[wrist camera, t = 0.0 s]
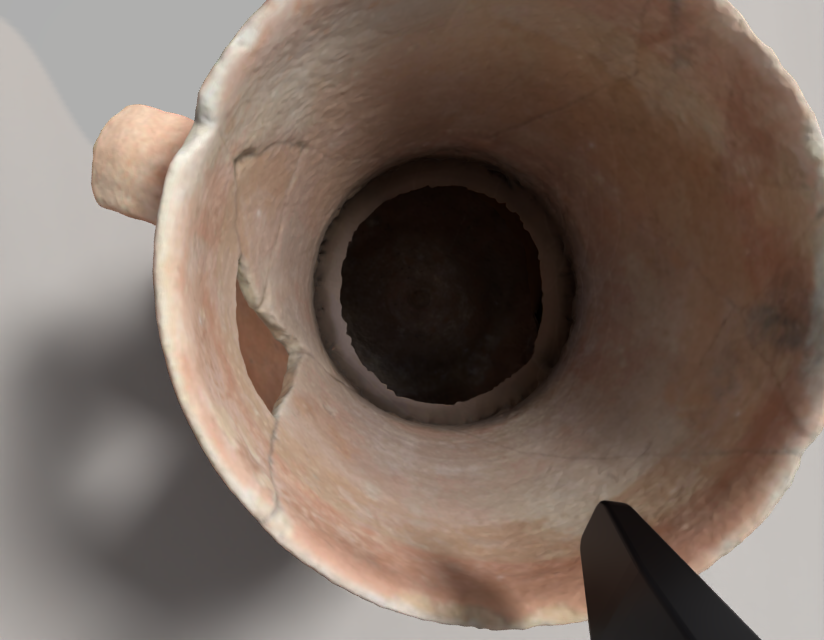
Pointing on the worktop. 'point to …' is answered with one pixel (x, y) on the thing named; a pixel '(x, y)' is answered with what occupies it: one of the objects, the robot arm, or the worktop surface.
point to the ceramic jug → (487, 285)
